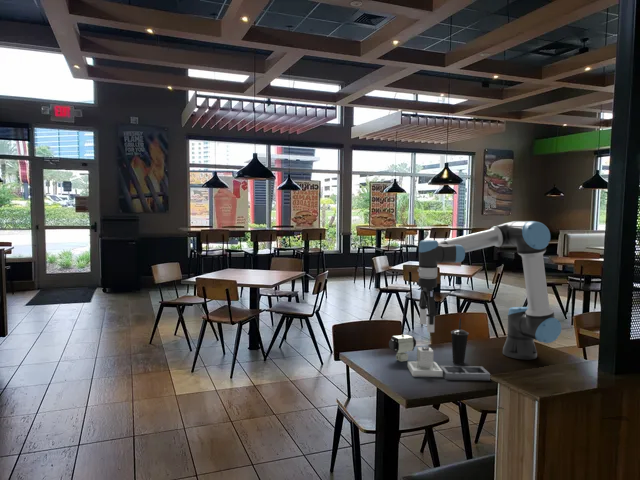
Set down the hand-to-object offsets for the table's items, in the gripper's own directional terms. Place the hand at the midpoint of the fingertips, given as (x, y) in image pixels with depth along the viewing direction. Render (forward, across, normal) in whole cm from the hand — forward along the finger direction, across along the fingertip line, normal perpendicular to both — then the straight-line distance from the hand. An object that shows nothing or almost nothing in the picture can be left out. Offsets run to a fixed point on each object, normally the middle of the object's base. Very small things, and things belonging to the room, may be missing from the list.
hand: (426, 328), depth 203 cm
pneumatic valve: (+19, -15, -7) cm, 25 cm away
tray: (+19, 0, -1) cm, 19 cm away
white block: (+18, 0, -1) cm, 18 cm away
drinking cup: (+19, -14, +18) cm, 30 cm away
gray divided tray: (+19, +4, +15) cm, 24 cm away
